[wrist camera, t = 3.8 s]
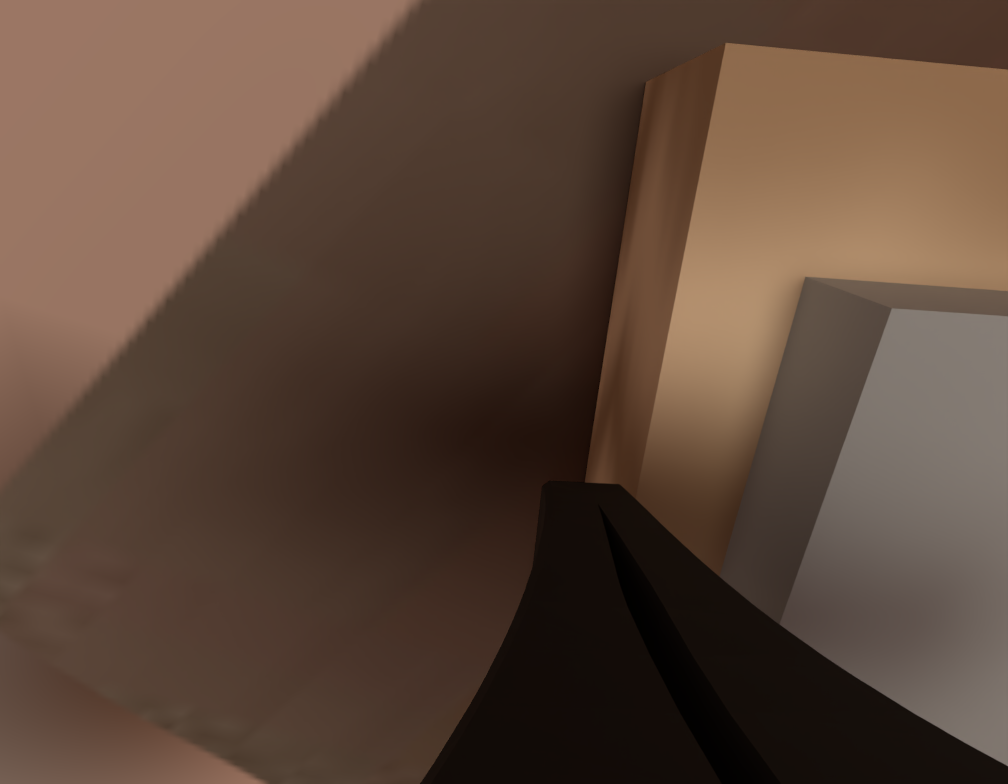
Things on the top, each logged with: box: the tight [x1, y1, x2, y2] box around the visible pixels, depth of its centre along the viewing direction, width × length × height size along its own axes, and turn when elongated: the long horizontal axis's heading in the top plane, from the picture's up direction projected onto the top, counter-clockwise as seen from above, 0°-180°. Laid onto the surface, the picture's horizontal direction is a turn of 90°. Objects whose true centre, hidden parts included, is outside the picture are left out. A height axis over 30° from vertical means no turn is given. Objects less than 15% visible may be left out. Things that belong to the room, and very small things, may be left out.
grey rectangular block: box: [719, 277, 1008, 766], centre depth 10 cm, size 9×6×2 cm, turn 176°
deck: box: [585, 43, 1008, 576], centre depth 13 cm, size 15×14×4 cm
